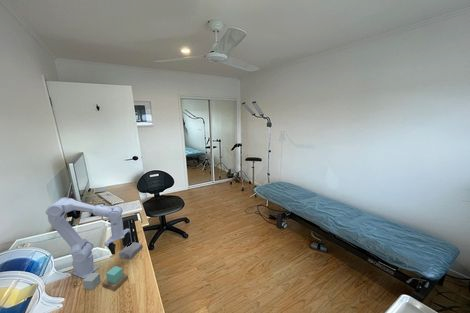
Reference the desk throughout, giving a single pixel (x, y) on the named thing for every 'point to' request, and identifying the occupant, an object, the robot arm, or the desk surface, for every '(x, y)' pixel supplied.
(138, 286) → the desk surface
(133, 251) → the stone block
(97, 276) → the grey cube
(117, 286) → the walnut base block
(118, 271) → the teal cube
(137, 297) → the desk surface
